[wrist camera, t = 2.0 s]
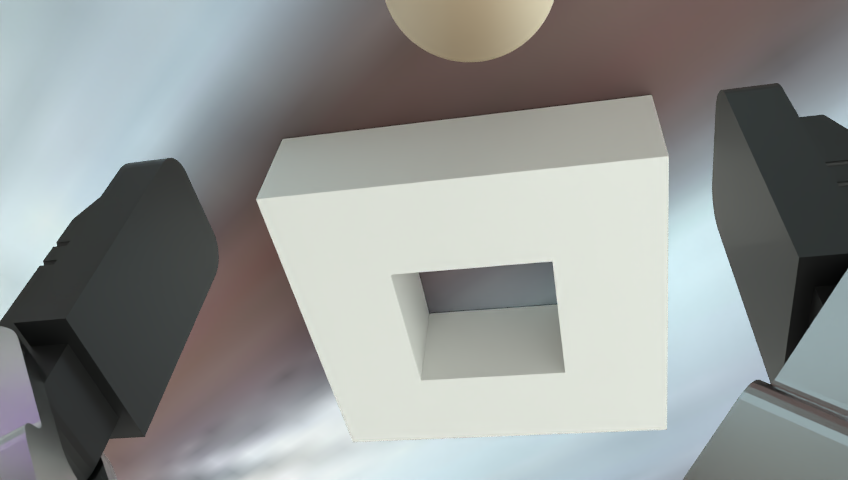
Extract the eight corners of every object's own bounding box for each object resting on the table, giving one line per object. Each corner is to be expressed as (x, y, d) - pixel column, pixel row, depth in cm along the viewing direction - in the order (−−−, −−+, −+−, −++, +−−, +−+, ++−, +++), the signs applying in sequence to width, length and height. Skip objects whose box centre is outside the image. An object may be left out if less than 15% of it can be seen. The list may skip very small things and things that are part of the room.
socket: (651, 94, 28) (668, 155, 24) (654, 359, 36) (666, 429, 33) (282, 139, 30) (255, 199, 27) (366, 375, 39) (352, 442, 36)
